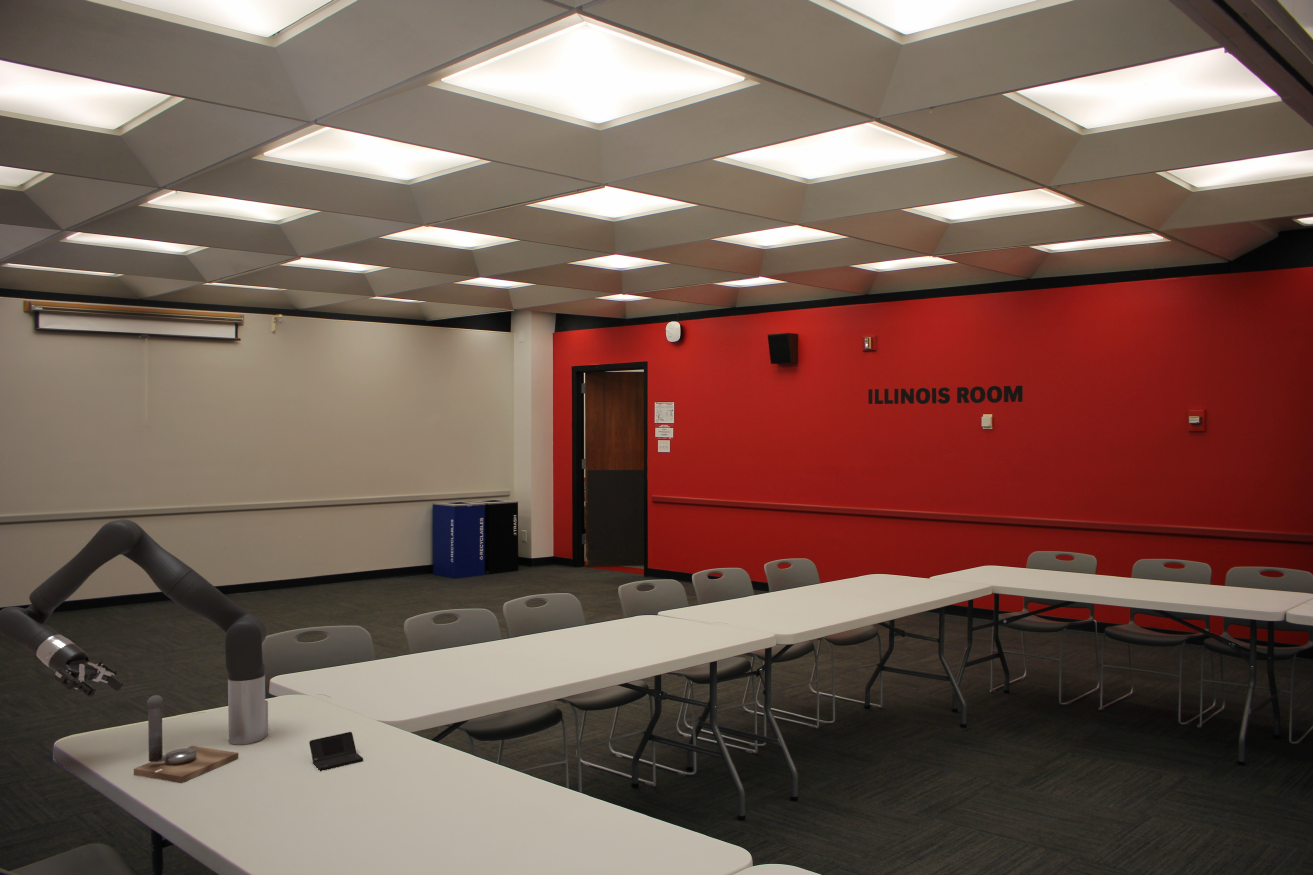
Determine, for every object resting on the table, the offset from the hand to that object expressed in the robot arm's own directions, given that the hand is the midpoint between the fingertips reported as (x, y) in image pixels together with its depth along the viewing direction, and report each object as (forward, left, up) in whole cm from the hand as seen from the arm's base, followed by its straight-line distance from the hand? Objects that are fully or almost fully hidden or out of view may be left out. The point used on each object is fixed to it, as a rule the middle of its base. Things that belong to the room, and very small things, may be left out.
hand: (107, 690), depth 218 cm
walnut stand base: (-8, +18, -20) cm, 28 cm away
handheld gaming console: (-23, +51, -20) cm, 60 cm away
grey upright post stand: (-6, +15, -18) cm, 24 cm away
